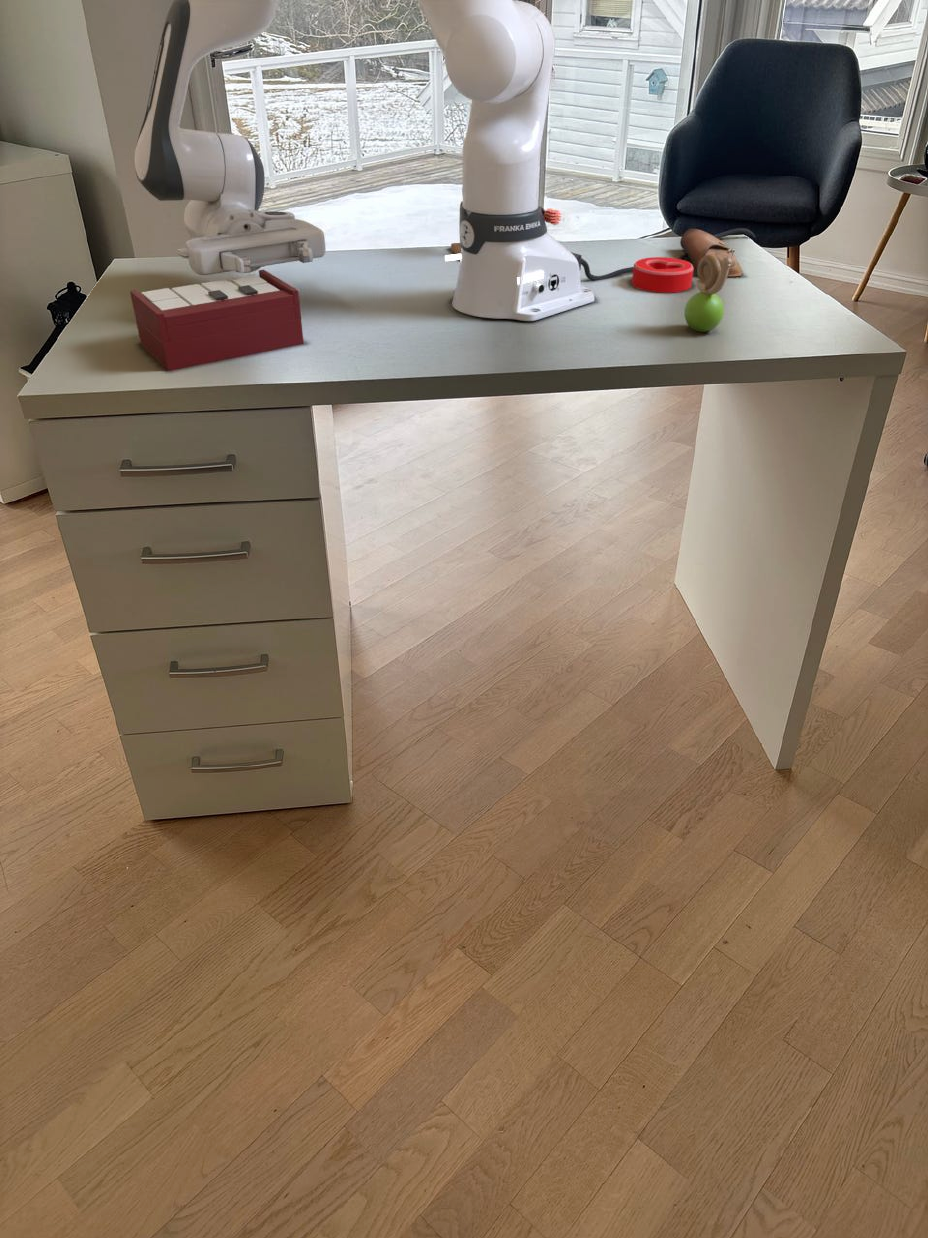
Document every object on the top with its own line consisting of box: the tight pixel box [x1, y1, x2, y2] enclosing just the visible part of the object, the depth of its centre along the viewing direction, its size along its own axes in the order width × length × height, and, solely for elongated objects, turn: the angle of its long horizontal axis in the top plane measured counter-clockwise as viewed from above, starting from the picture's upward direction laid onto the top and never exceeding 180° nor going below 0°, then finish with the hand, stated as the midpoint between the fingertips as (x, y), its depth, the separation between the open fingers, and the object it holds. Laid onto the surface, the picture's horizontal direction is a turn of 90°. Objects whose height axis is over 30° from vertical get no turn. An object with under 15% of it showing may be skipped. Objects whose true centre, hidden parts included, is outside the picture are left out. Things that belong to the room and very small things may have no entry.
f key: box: [140, 287, 179, 303], centre depth 126 cm, size 4×4×1 cm
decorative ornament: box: [631, 256, 695, 294], centre depth 152 cm, size 10×10×3 cm
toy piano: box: [129, 269, 305, 372], centre depth 127 cm, size 19×12×7 cm, turn 122°
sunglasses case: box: [679, 228, 744, 278], centre depth 162 cm, size 18×7×7 cm
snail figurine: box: [683, 248, 736, 333], centre depth 130 cm, size 5×6×12 cm
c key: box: [229, 273, 267, 287], centre depth 131 cm, size 4×4×1 cm
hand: (277, 261), depth 131 cm, fingers open, 8 cm apart
